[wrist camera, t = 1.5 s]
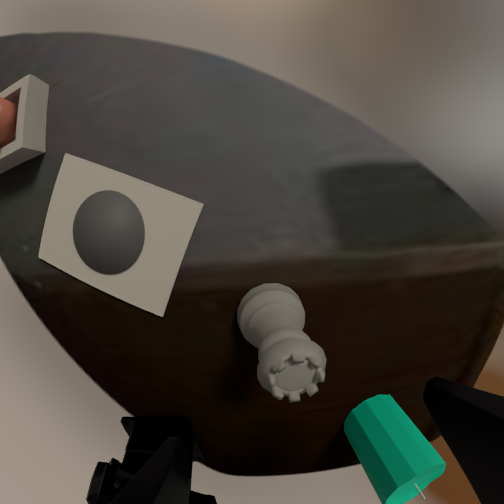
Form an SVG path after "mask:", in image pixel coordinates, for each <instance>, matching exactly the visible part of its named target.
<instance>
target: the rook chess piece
mask: <svg viewBox="0 0 504 504" xmlns="http://www.w3.org/2000/svg"><path fill="white" fill-rule="evenodd" d="M237 320H238V324H239V328H240V330H241V332H242V334H243V336H244V338H245V339H246V340H247V341H248V342H250V343H251V344H252V345H253V346H255V347H257V348H259V350H258V360H259V364H258V366H257V378H258V380H259V382H260V383H261V385H262V387H263V388H265V389H266V390H268V391H269V392H271V393H272V396H274V397H275V398H277V399H278V400H281V399H282V398H283V397H284V396H288V399H289V402H297V401H300V396H299V395H300V394H302V393H304V392H307V393H308V395H309V396H310V397H311V396H312V395H313V394H315V393H316V392H317V391H318V388H317V386H316V384H317V382H324V379H325V372H324V371H325V366H326V357H325V354H324V351H323V349H322V348H321V347H319V346H318V345H317V344H316V343H315V342H312V341H311V340H310V338H309V337H308V336H307V335H306V334H305V333H304V332H303V331H302V329H303V327H304V321H305V311H304V308H303V306H302V303H301V301H300V299H299V297H298V295H297V294H296V293H295V292H294V291H293V290H292V289H290V288H289V287H286V286H284V285H281V284H278V283H270V284H262V285H260V286H258V287H255V288H253V289H251V290H250V291H249V292H248V293H247V294H246V295H245V296H244V297H243V298H242V300H241V302H240V305H239V307H238V309H237Z"/></svg>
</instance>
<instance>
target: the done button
mask: <svg viewBox="0 0 504 504" xmlns="http://www.w3.org/2000/svg"><path fill="white" fill-rule="evenodd" d="M17 114H18V105H17V104H16V103H13V102H11V101H9V100H6V99H4V98H1V97H0V148H2V147H4V146H6V145H7V144H8V143H9V142H10V141H11V140H12V138H13V136H14V135H15V133H16V125H17Z"/></svg>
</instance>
